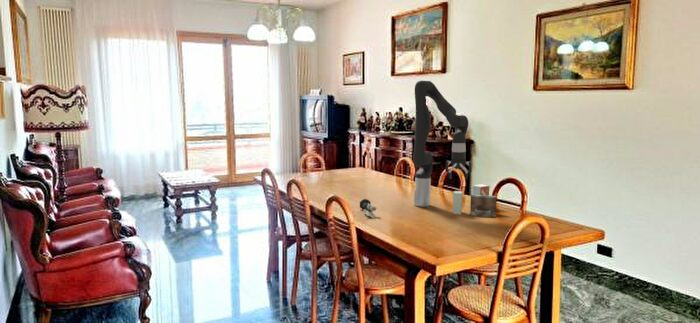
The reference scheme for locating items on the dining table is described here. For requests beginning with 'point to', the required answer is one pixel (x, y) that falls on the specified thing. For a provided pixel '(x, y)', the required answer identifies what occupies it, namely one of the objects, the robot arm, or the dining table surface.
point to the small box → (480, 190)
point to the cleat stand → (483, 206)
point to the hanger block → (457, 202)
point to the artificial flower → (366, 205)
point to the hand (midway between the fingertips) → (458, 179)
